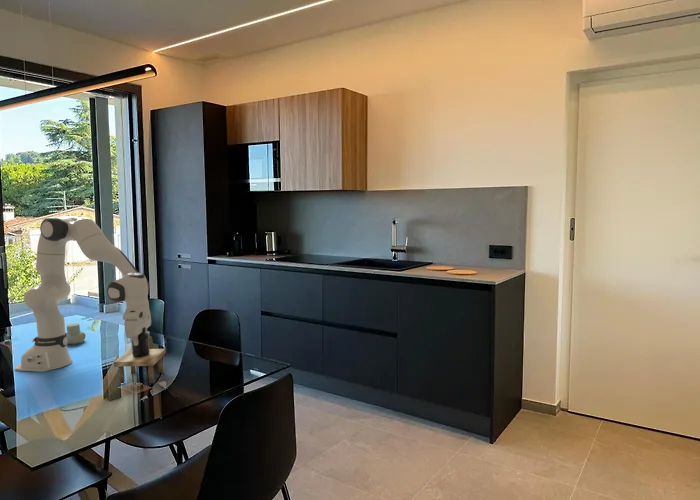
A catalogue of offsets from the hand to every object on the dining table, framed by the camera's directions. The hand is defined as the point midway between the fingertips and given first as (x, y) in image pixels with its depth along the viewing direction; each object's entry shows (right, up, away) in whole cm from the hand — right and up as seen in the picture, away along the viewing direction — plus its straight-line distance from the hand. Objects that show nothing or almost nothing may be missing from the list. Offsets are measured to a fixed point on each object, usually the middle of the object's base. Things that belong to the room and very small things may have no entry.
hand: (140, 342), depth 213 cm
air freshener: (-56, -10, +51) cm, 77 cm away
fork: (+16, -18, -12) cm, 26 cm away
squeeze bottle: (-6, -14, +20) cm, 25 cm away
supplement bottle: (0, -6, +1) cm, 6 cm away
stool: (0, -16, +2) cm, 16 cm away
